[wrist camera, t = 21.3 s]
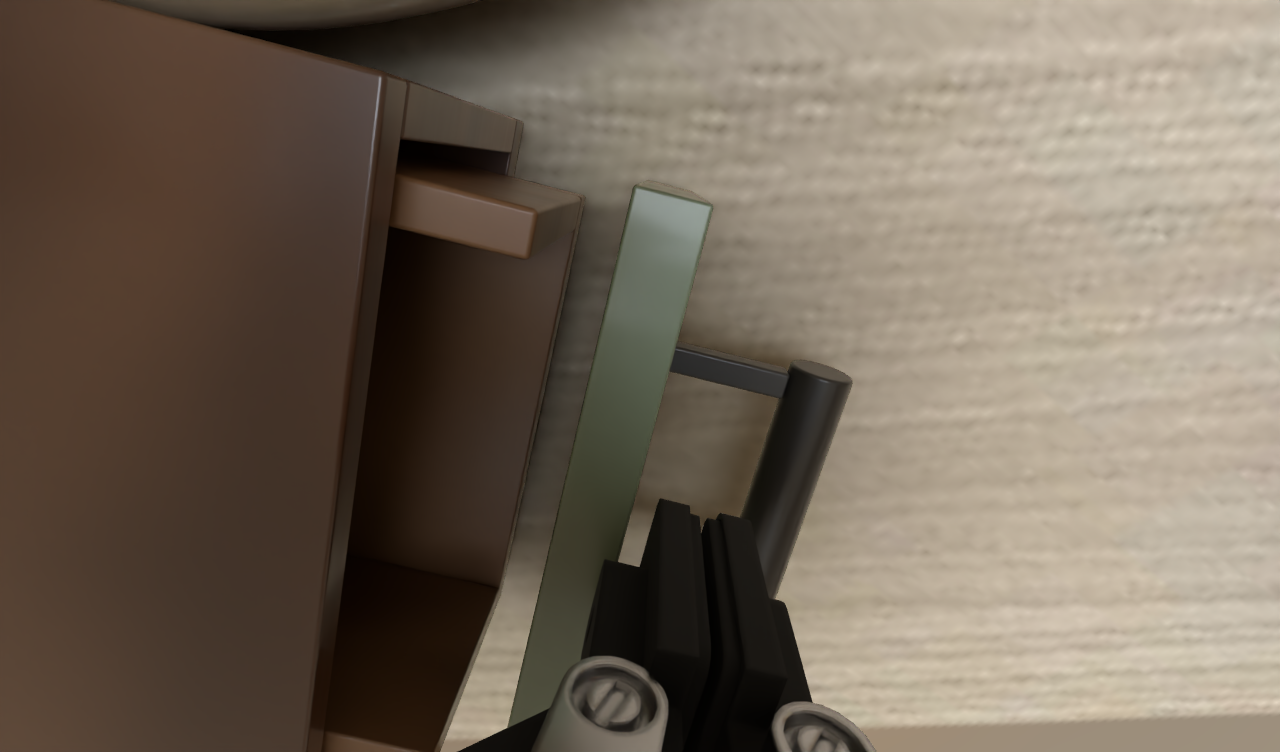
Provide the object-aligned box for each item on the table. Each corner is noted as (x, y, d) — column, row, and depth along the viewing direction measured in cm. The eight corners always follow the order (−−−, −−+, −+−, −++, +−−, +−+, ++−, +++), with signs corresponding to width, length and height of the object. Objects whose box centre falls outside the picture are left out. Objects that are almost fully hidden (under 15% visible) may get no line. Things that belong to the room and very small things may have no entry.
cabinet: (523, 121, 17) (386, 71, 8) (439, 591, 21) (291, 865, 12) (-66, -30, 16) (-833, -244, 8) (-33, 482, 20) (-513, 696, 12)
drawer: (864, 235, 16) (998, 277, 10) (719, 658, 20) (747, 892, 14) (137, 49, 16) (-240, -40, 9) (129, 523, 19) (-141, 700, 13)
